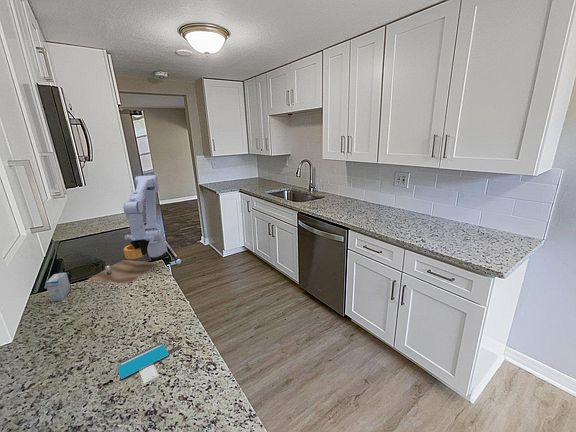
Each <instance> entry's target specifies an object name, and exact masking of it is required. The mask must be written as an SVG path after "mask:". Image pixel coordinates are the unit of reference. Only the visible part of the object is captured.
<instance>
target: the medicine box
mask: <svg viewBox="0 0 576 432" xmlns="http://www.w3.org/2000/svg"><path fill="white" fill-rule="evenodd" d="M70 283H71V282H70V280H69V276H68V273H67V272H59V273H54V274H53V275H52V276H50V278H49V279H47V281H46V282H45V287H46V290H47V293H48V297H49V300H50V302H57V301H63V300H65V298H66V297H67V296H68V295H69V293H70V292H71V291H72V288H71V284H70Z"/></svg>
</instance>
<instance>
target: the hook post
mask: <svg viewBox="0 0 576 432" xmlns="http://www.w3.org/2000/svg"><path fill="white" fill-rule="evenodd" d="M104 268H105V269H106V272H107V275H111V274H112V271H111V265H110V264H108V265H105V266H104Z"/></svg>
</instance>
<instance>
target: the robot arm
mask: <svg viewBox="0 0 576 432" xmlns="http://www.w3.org/2000/svg"><path fill="white" fill-rule="evenodd" d="M134 184H135V186H136V187H135V190H133V191H132V192H131V194H130V196H129V198H128V201H126V202H125V203H123V213H124V214H125V216H126V217H125V218H126V219H127V220H128V224H129V229H130V232H131V234H126V235H124V240H126V241H128V240H131V241H130V243H129V245H133V247H134V248H135V249H138V248H141V252H142V255H144V256H146V255H148V257H149V258H158V257H161V256H162V255H164V254H165V253H168V252H167V251H168V246H167V241H166V240H165V239H164V237H165V233H164V229H163V226H162V225H160V224H159V223H158V221H157V218H158V217H157V197H156V195H157V193H158V192H159V188H160V186H159V185H160V183H159V179H158V176H157V174H152V175H136V176H135V178H134ZM144 201H145V214H146V215H145V216H146V217H145V218H146V224H145V223H144V217H143V212H144ZM145 254H146V255H145Z"/></svg>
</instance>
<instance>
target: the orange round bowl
mask: <svg viewBox="0 0 576 432" xmlns="http://www.w3.org/2000/svg"><path fill="white" fill-rule="evenodd" d="M123 254H124V257H125V259H126V260H127V259H128V260H133V259H134V260H135V259H139V258H143V257H145V256H146V255H147V254H145V255H142V252H141V248H138V249H135V248H134V247H133V245H131V244H129V245H127V246H125V247H123Z"/></svg>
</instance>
